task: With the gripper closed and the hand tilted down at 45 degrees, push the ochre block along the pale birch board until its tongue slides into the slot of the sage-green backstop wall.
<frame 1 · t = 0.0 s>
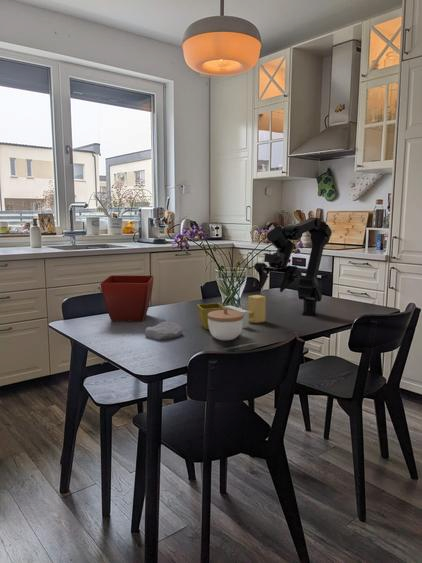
hand: (270, 290, 168), 15 cm above the table, tool tilted 35°, fingers open, 9 cm apart
plant pot: (129, 318, 186), on the table
board: (245, 324, 175), on the table
lidded bowl: (225, 339, 157), on the table
wall: (236, 324, 173), resting on board
stone block: (165, 336, 161), on the table
block: (254, 309, 176), point 6 cm above the table, slide at 0.0 cm
flower pot: (210, 329, 170), on the table
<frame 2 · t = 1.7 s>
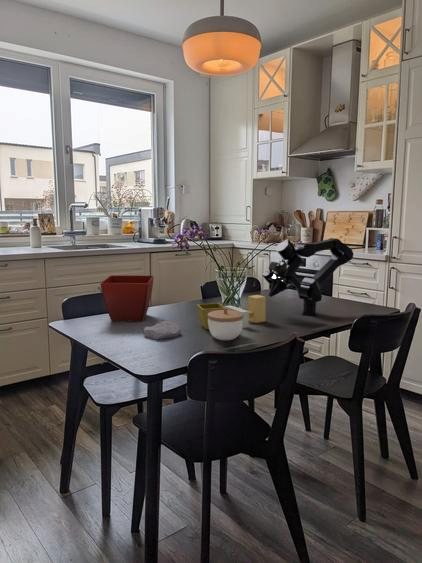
hand: (269, 296, 180), 10 cm above the table, tool tilted 45°, fingers closed
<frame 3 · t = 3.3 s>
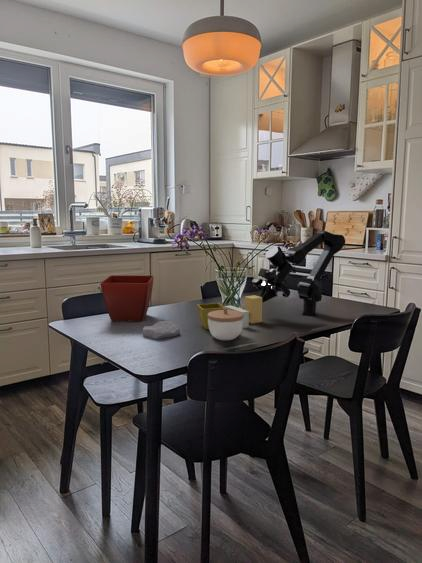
hand: (258, 303, 177), 8 cm above the table, tool tilted 45°, fingers closed, pressing on block
block: (250, 309, 175), point 6 cm above the table, slide at 1.7 cm, touching gripper
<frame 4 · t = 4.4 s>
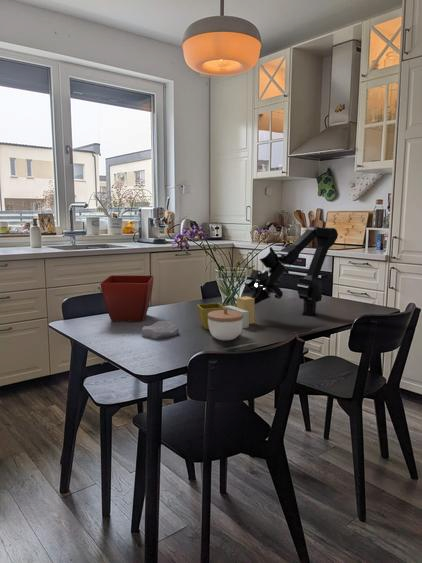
hand: (251, 304, 175), 8 cm above the table, tool tilted 45°, fingers closed
block: (242, 310, 173), point 6 cm above the table, slide at 5.6 cm
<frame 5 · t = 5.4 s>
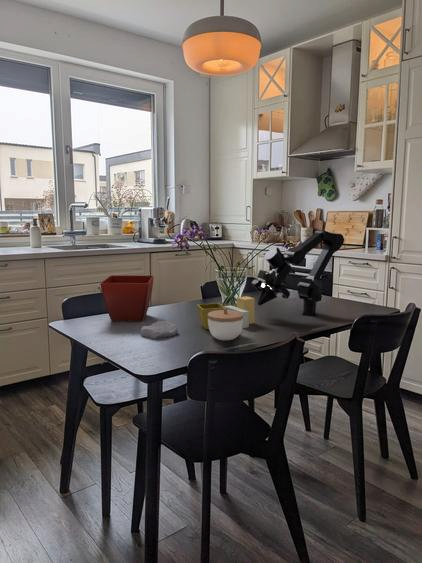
hand: (258, 304, 177), 7 cm above the table, tool tilted 45°, fingers closed
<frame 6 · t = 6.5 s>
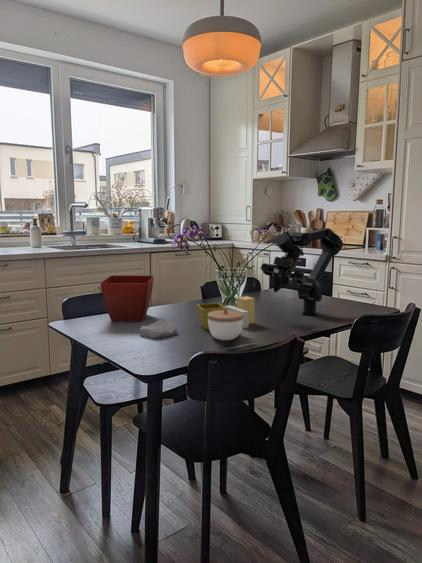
hand: (274, 291, 175), 13 cm above the table, tool tilted 35°, fingers closed
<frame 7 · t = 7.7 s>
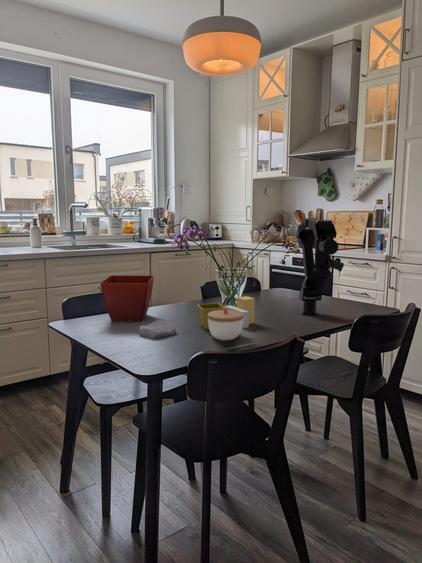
hand: (320, 290, 177), 13 cm above the table, tool pointing down, fingers closed
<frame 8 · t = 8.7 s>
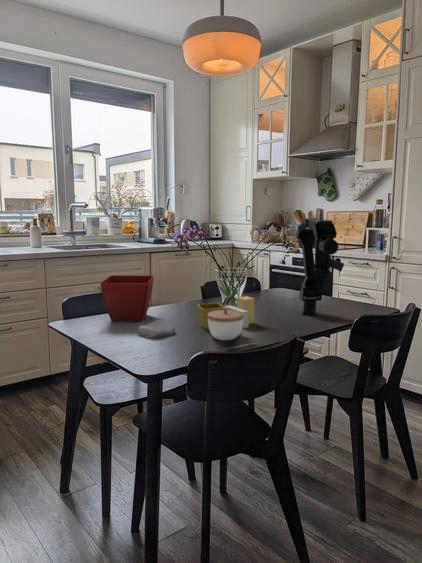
hand: (320, 290, 177), 13 cm above the table, tool pointing down, fingers closed
at the end: block slide at 5.6 cm; block 4.4 cm from the wall (horizontally) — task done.
